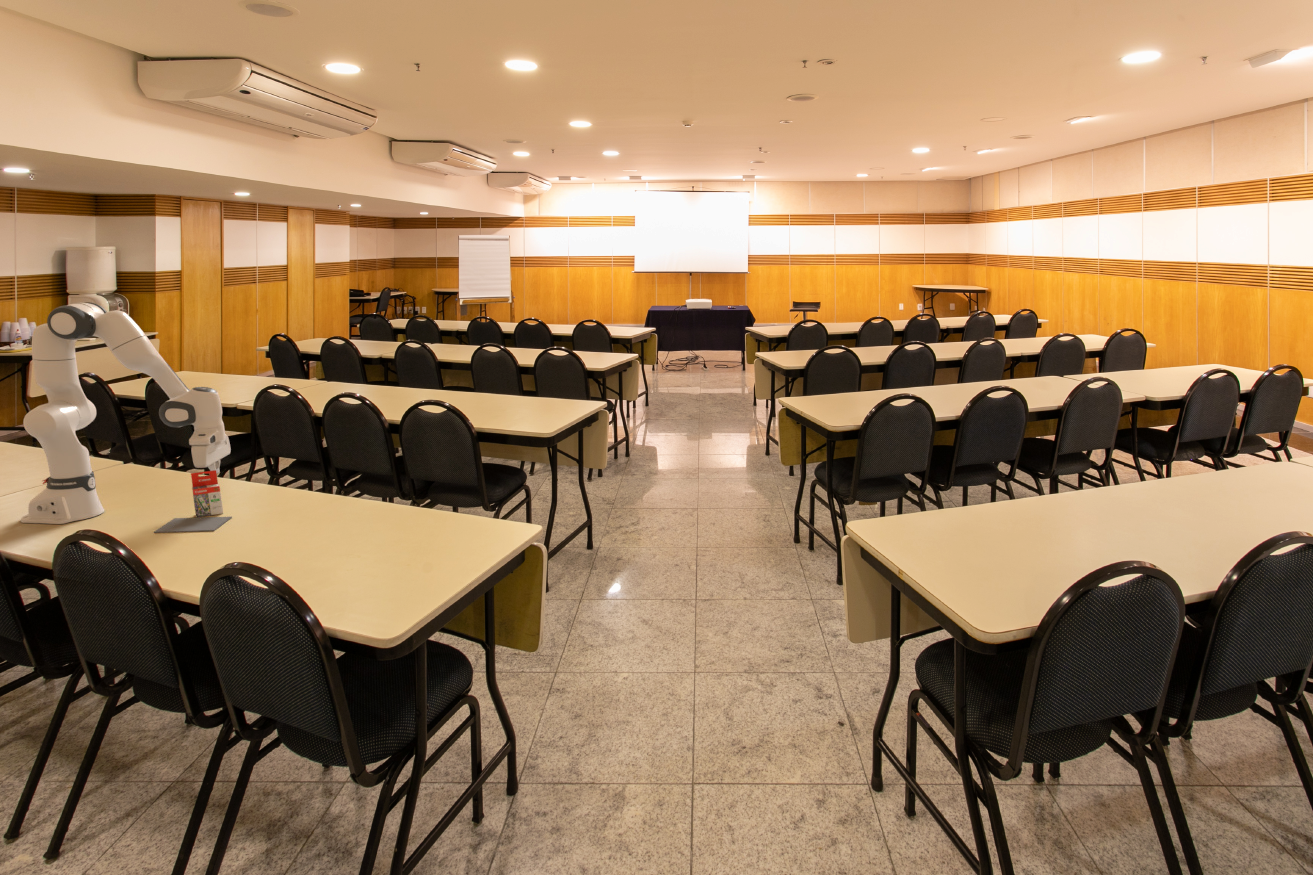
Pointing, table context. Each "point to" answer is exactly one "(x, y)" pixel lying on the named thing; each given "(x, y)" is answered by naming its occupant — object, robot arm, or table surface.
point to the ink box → (206, 494)
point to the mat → (193, 524)
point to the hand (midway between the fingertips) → (215, 473)
